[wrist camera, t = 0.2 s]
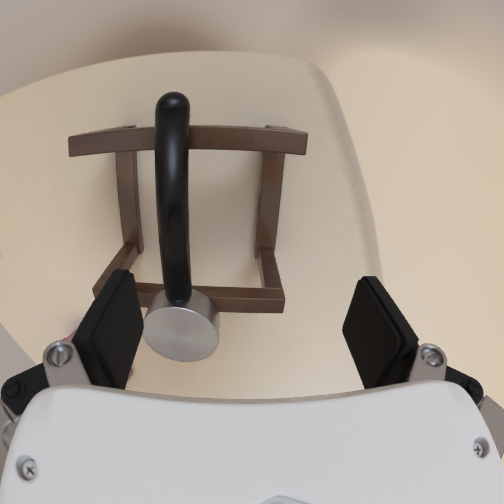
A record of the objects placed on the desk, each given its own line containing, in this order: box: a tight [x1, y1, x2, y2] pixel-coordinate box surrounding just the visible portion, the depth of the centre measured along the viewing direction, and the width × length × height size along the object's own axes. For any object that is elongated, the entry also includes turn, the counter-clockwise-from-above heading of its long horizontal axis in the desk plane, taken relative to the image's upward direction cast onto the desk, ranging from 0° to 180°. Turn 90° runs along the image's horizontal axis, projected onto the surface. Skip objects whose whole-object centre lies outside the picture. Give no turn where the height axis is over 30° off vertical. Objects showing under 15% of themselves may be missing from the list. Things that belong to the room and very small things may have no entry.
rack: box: [68, 125, 308, 313], centre depth 18 cm, size 11×13×8 cm
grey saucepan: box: [142, 92, 220, 362], centre depth 14 cm, size 16×5×2 cm, turn 176°
